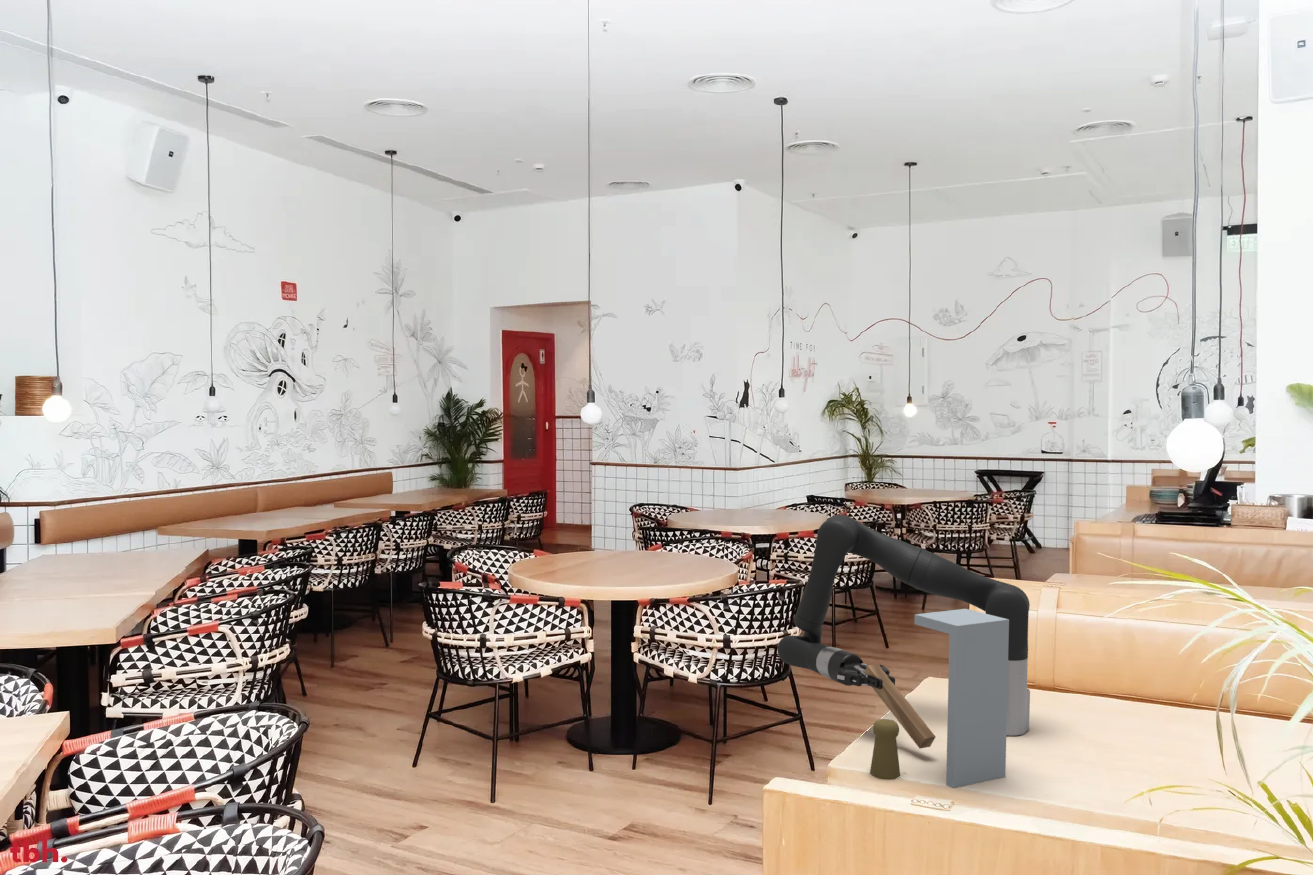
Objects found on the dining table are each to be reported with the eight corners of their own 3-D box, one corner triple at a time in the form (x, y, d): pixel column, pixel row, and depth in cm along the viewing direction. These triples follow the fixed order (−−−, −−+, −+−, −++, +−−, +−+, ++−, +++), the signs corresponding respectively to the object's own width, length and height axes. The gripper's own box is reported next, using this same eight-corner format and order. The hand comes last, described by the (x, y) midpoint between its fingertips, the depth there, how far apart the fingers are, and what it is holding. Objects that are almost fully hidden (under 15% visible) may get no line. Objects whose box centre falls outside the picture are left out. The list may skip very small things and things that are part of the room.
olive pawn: (900, 780, 209) (901, 726, 209) (869, 778, 210) (870, 723, 210) (899, 770, 215) (900, 717, 214) (869, 767, 216) (870, 715, 216)
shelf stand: (962, 758, 222) (965, 608, 221) (1005, 776, 212) (1009, 619, 211) (911, 768, 216) (914, 614, 215) (953, 788, 205) (957, 625, 204)
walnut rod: (873, 673, 239) (877, 664, 238) (930, 746, 223) (935, 736, 222) (862, 675, 238) (867, 665, 236) (919, 748, 222) (924, 738, 220)
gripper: (815, 652, 244) (863, 670, 229) (863, 646, 251) (912, 663, 236) (814, 684, 245) (862, 704, 230) (862, 677, 251) (911, 696, 236)
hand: (887, 683), depth 233 cm, fingers closed on walnut rod, 3 cm apart
